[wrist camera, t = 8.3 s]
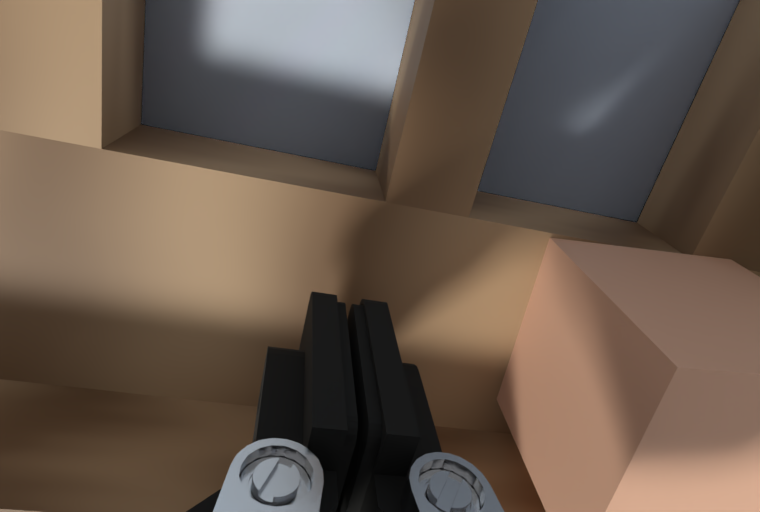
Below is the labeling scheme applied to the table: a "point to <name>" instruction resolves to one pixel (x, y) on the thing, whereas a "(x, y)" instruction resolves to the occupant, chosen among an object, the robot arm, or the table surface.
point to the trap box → (288, 249)
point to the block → (638, 381)
